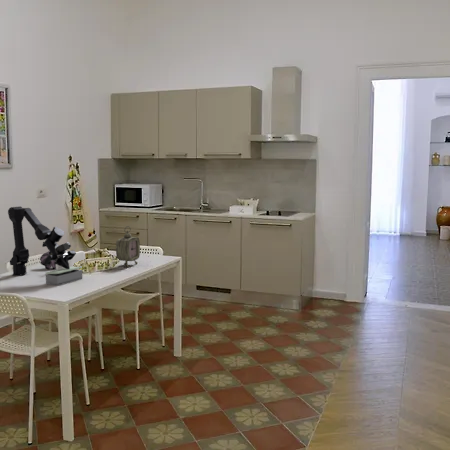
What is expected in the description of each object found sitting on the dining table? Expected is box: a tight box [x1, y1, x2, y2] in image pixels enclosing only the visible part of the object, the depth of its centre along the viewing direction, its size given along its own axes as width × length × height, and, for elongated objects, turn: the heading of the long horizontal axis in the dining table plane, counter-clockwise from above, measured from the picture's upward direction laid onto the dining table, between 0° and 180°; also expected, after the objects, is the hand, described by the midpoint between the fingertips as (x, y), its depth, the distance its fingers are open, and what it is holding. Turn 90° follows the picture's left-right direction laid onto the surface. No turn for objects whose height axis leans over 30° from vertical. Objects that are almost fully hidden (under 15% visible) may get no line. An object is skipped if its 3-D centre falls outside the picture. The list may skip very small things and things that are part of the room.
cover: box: [45, 266, 82, 275], centre depth 295 cm, size 9×18×1 cm, turn 150°
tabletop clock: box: [115, 225, 141, 268], centre depth 338 cm, size 14×9×25 cm, turn 158°
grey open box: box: [45, 269, 83, 287], centre depth 296 cm, size 9×18×5 cm, turn 150°
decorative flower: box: [39, 250, 56, 270], centre depth 333 cm, size 14×12×15 cm
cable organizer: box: [55, 250, 86, 270], centre depth 323 cm, size 15×11×12 cm
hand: (68, 269), depth 293 cm, fingers closed, pressing on cover
